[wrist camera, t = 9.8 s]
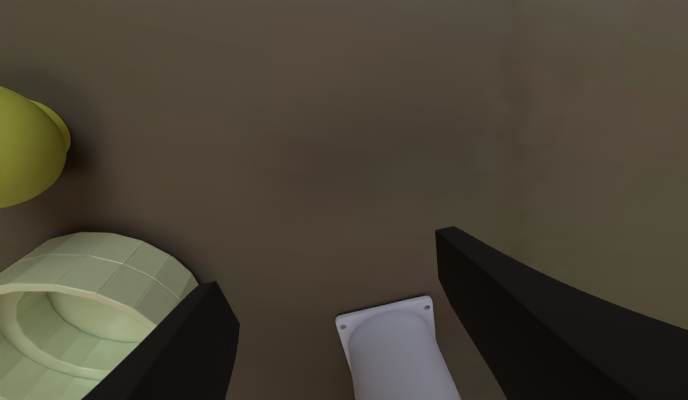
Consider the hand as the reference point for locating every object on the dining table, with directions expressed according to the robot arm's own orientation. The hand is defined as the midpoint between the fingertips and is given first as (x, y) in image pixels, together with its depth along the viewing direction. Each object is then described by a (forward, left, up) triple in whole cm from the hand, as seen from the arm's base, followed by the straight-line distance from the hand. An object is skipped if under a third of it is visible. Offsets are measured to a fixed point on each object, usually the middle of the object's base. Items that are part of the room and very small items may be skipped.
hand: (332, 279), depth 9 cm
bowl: (-6, +16, -9) cm, 19 cm away
